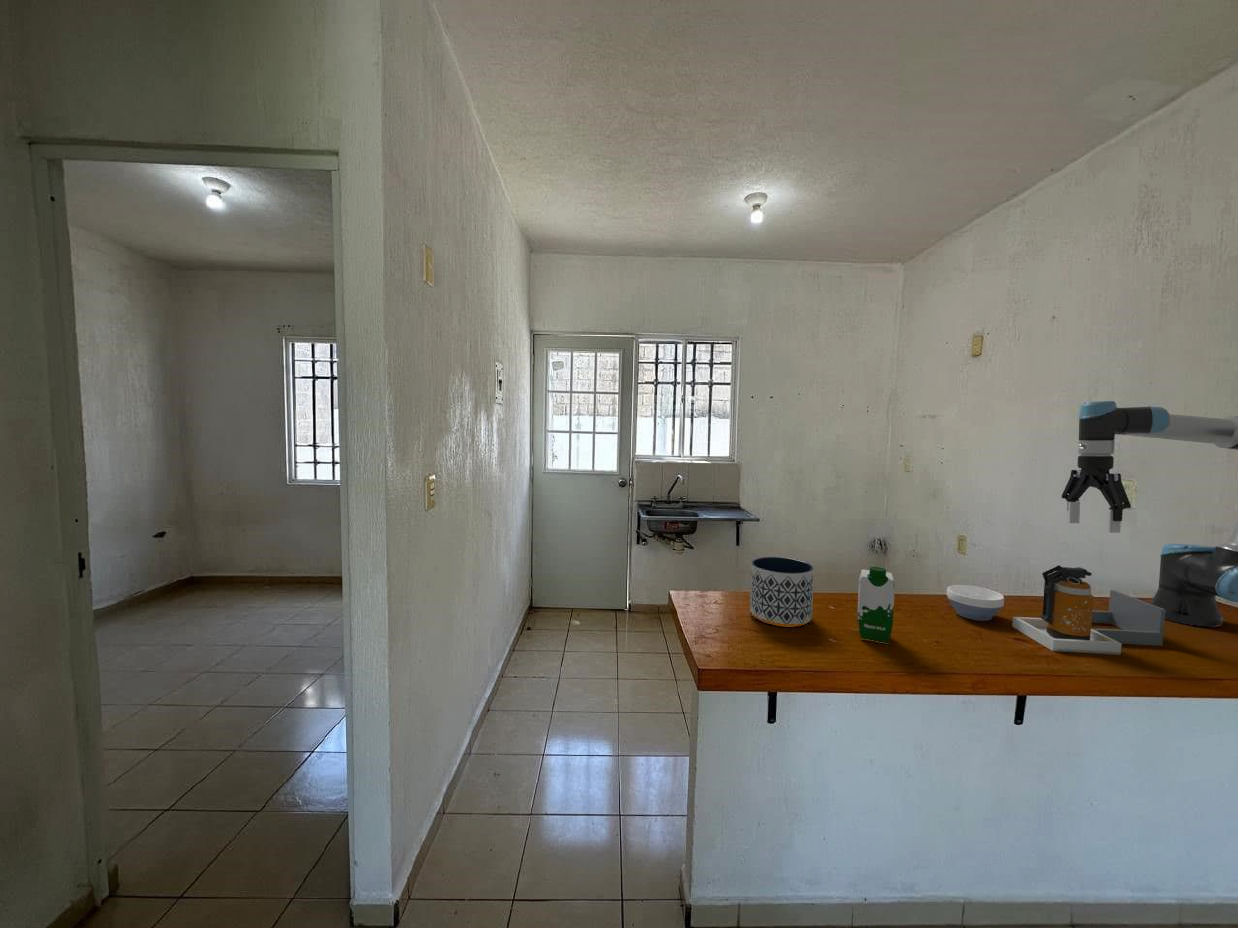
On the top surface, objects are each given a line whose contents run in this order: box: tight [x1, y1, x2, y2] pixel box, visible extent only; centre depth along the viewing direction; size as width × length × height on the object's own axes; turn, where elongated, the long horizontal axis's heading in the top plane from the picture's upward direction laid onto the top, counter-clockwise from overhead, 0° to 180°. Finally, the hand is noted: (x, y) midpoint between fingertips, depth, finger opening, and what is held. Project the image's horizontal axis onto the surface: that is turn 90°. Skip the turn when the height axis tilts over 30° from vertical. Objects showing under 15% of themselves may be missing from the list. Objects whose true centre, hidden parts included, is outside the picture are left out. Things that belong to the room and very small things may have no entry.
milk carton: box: [857, 566, 896, 644], centre depth 137 cm, size 9×9×20 cm
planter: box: [749, 556, 815, 625], centre depth 152 cm, size 18×18×16 cm
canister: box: [1039, 564, 1094, 640], centre depth 136 cm, size 9×11×20 cm
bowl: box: [946, 584, 1005, 622], centre depth 154 cm, size 14×14×8 cm
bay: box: [1091, 589, 1166, 646], centre depth 142 cm, size 16×16×10 cm
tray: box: [1012, 616, 1123, 656], centre depth 137 cm, size 16×16×3 cm
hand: (1092, 527), depth 145 cm, fingers open, 13 cm apart
